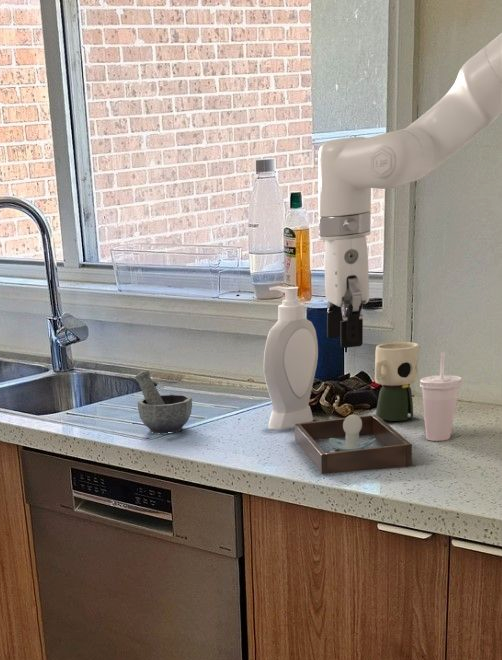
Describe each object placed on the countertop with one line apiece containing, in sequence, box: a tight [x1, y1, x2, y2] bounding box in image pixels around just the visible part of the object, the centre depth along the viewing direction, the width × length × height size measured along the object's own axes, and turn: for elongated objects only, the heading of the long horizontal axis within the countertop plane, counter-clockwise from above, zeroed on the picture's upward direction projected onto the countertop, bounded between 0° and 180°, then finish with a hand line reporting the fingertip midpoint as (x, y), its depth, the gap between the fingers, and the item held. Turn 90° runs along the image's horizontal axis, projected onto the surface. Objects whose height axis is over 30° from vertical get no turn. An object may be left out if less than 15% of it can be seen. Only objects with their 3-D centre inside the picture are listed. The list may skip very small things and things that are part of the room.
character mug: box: [374, 341, 420, 422], centre depth 213 cm, size 11×7×13 cm, turn 126°
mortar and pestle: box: [134, 370, 193, 433], centre depth 225 cm, size 11×9×12 cm
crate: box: [294, 413, 413, 475], centre depth 198 cm, size 14×23×4 cm, turn 176°
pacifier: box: [328, 414, 377, 453], centre depth 197 cm, size 7×6×6 cm
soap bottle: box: [263, 285, 319, 430], centre depth 217 cm, size 13×8×24 cm, turn 121°
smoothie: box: [419, 351, 463, 442], centre depth 197 cm, size 6×6×14 cm
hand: (344, 341), depth 191 cm, fingers open, 9 cm apart
